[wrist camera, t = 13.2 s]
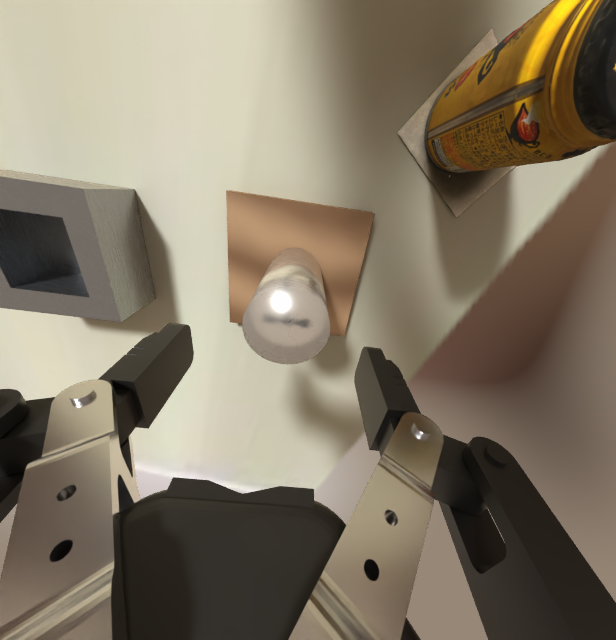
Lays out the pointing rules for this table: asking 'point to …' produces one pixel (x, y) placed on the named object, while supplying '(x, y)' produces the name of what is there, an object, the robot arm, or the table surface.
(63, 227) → the housing
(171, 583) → the robot arm
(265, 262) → the board
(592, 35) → the condiment
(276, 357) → the plug
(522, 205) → the table surface
